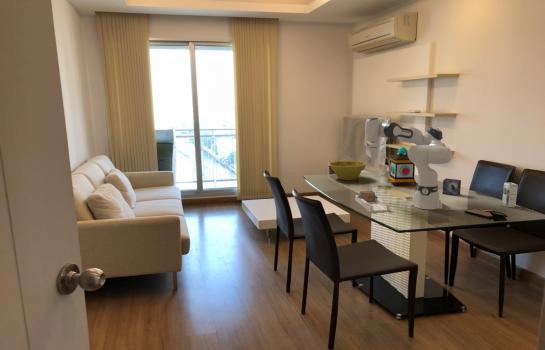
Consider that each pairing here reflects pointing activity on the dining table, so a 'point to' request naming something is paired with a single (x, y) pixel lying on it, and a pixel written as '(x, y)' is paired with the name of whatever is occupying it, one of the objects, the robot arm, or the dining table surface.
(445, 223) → the dining table surface
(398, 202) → the dining table surface
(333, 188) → the dining table surface
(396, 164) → the decorative lantern
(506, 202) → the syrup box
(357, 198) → the grey chute
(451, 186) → the small box
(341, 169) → the planter bowl
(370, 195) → the walnut block
